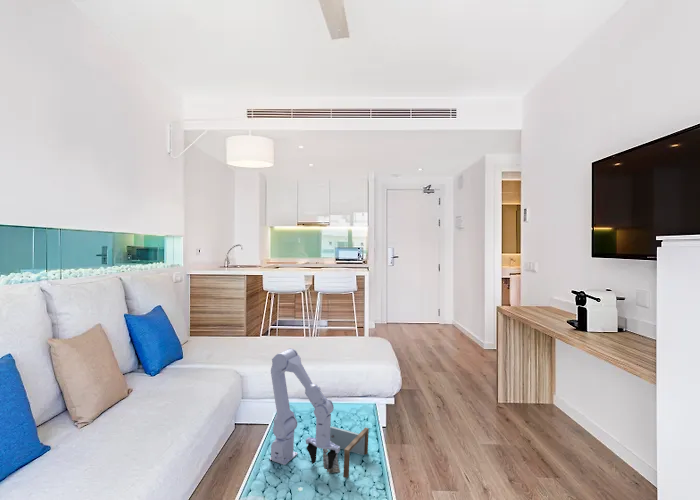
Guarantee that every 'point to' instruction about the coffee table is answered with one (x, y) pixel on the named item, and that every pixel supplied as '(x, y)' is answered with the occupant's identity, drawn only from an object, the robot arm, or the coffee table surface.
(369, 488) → the coffee table surface
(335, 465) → the driftwood
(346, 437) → the door
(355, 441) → the door frame
